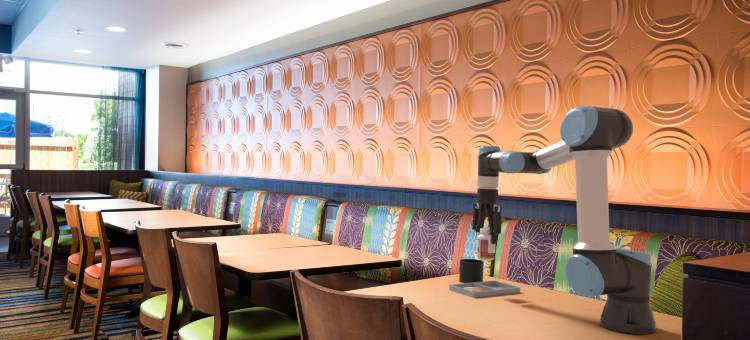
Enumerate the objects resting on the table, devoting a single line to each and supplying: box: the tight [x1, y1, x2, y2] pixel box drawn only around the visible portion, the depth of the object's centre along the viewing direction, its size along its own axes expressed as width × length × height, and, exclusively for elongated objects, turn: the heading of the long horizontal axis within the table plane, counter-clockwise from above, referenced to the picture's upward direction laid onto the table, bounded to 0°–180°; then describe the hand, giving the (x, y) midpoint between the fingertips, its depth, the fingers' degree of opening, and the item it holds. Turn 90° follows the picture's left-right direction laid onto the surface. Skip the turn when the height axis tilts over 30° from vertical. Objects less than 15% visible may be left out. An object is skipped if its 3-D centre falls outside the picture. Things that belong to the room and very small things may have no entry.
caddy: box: [448, 280, 521, 299], centre depth 218 cm, size 14×22×2 cm, turn 120°
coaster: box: [463, 287, 484, 292], centre depth 215 cm, size 8×8×1 cm
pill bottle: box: [476, 227, 495, 261], centre depth 214 cm, size 6×6×11 cm
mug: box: [458, 258, 485, 284], centre depth 237 cm, size 9×12×9 cm
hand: (485, 251), depth 214 cm, fingers closed on pill bottle, 6 cm apart
